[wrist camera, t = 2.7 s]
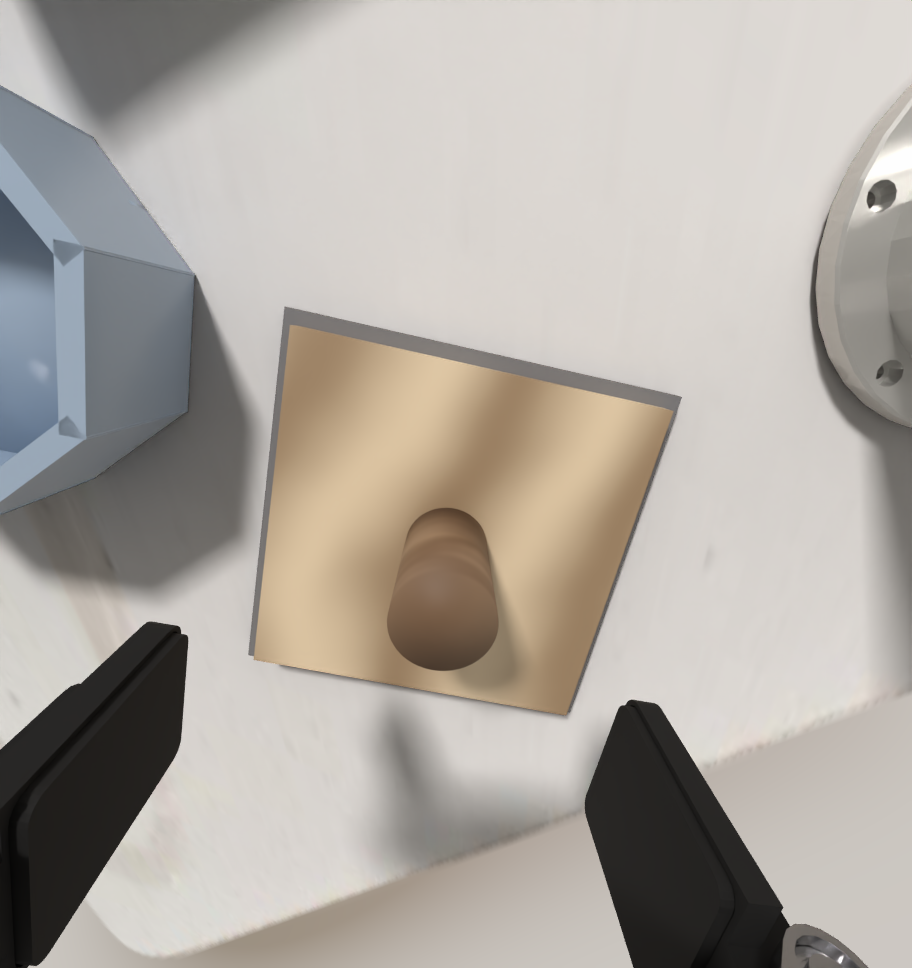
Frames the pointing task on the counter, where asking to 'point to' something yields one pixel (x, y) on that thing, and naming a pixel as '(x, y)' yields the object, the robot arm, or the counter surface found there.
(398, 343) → the mat
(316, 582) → the lid
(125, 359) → the bowl
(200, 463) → the counter surface
